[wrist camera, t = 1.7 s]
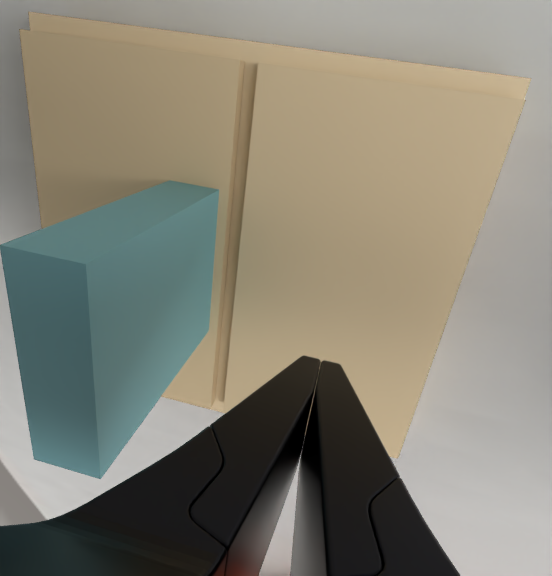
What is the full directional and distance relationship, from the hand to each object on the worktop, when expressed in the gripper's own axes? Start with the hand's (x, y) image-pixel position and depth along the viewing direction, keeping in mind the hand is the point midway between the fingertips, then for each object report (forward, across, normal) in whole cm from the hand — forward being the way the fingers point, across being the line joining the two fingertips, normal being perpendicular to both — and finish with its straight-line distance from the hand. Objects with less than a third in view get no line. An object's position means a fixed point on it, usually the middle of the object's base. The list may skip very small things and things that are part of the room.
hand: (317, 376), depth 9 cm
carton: (+7, +3, 0) cm, 8 cm away
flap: (+5, +7, 0) cm, 9 cm away
